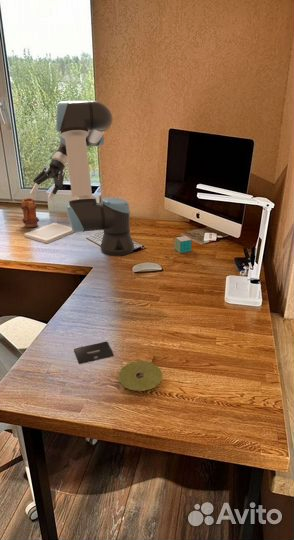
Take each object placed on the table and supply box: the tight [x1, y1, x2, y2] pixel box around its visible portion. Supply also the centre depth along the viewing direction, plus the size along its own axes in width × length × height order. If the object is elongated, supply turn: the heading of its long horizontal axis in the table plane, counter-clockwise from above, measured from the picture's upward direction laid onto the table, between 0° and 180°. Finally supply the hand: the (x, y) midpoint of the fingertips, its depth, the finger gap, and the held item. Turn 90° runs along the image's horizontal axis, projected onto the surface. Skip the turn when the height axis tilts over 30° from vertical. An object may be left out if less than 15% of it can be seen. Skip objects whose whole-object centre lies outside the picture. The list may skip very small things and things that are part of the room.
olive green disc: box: [117, 360, 163, 392], centre depth 103 cm, size 11×11×2 cm
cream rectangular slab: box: [23, 222, 75, 244], centre depth 199 cm, size 16×20×2 cm
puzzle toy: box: [174, 235, 193, 254], centre depth 179 cm, size 6×6×6 cm
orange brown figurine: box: [20, 197, 40, 228], centre depth 205 cm, size 15×8×15 cm, turn 25°
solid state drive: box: [73, 341, 115, 365], centre depth 114 cm, size 7×10×1 cm
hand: (40, 196), depth 208 cm, fingers open, 13 cm apart
